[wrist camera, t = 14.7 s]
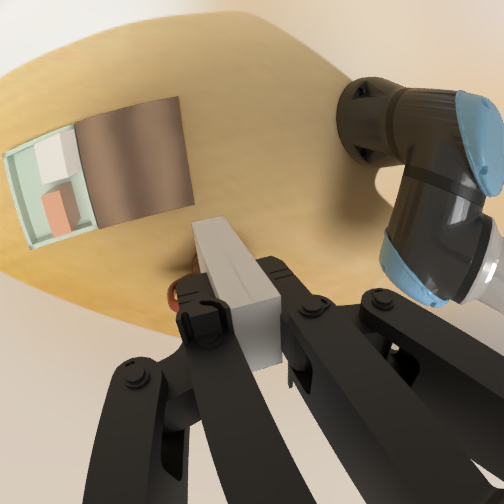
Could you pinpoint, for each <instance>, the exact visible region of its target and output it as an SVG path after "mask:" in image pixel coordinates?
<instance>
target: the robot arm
mask: <svg viewBox="0 0 504 504" xmlns="http://www.w3.org/2000/svg"><path fill="white" fill-rule="evenodd" d="M337 126H338V132H339V136H340V139H341V141H342V143H343V145H344V147H345V149H346V150H347V152H348V153H349V154H350V155H351V156H352V157H353V158H354V159H355V160H356V161H358V162H360V163H362V164H365V165H368V166H372V167H379V168H381V167H389V166H397V165H405V168H404V173H403V176H402V180H401V184H400V188H399V192H398V195H397V199H396V202H395V205H394V209H393V212H392V215H391V218H390V221H389V224H388V227H387V228H386V229H385V232H384V235H385V237H384V240H383V244H382V247H381V251H380V255H379V261H380V265H381V267H382V270H383V271H384V273H385V274H386V276H387V277H388V278H389V280H390V281H391V282H392V283H393V284H394V285H395V286H396V287H398V288H399V289H400V290H401V291H402V292H404V293H405V294H406V295H408V296H409V297H411V298H412V299H414V300H416V301H417V302H420V303H421V304H424V305H426V306H428V305H430V306H431V307H433V308H440V307H442V306H444V305H445V304H447V303H448V301H449V299H451V300H453V301H455V302H457V303H458V304H461V305H462V304H465V303H467V302H469V301H472V300H478V301H480V302H482V303H484V304H486V305H488V306H489V307H491V308H493V309H495V310H497V311H499V312H500V313H502V314H504V237H502V236H501V235H500V233H499V231H498V229H497V226H496V223H495V220H494V219H493V218H491V217H490V216H488V215H485V214H483V213H482V210H483V206H484V203H485V199H486V196H488V197H492V196H493V197H495V196H497V195H499V194H500V192H501V190H502V186H503V184H504V123H503V120H502V117H501V115H500V113H499V111H498V109H497V108H496V106H495V105H494V104H493V103H492V102H491V101H490V100H489V99H487V98H485V97H483V96H479V95H475V94H471V93H466V92H465V91H461V90H459V91H452V90H441V89H425V88H406V87H403V86H401V85H399V84H396V83H394V82H391V81H389V80H386V79H383V78H379V77H366V78H360V79H357V80H355V81H353V82H352V83H351V84H349V85H348V86H347V88H346V89H345V90H344V92H343V94H342V96H341V98H340V101H339V104H338V110H337ZM191 224H192V229H193V235H194V240H195V245H196V251H197V256H198V261H199V266H200V271H201V273H200V274H196V275H192V276H187V277H183V278H180V279H179V281H178V283H177V285H176V293H177V299H178V304H179V311H178V312H177V315H176V323H177V326H178V329H179V332H180V335H181V338H182V341H183V342H182V344H181V346H180V347H179V349H178V350H177V351H176V352H175V353H173V354H172V355H170V356H169V357H167V358H165V359H163V360H161V361H159V362H156V361H154V360H153V359H151V358H146V357H136V358H131V359H129V360H127V361H125V362H123V363H122V364H121V365H120V366H118V367H117V368H116V370H115V372H114V374H113V376H112V379H111V382H110V386H109V388H108V392H107V396H106V399H105V403H104V406H103V409H102V413H101V417H100V421H99V425H98V429H97V432H96V437H95V441H94V445H93V450H92V454H91V459H90V463H89V468H88V474H87V479H86V485H85V491H84V496H83V503H82V504H187V503H188V502H187V501H188V456H189V432H190V426H191V425H193V424H195V423H196V422H198V421H200V420H202V424H203V427H204V431H205V435H206V438H207V442H208V445H209V448H210V452H211V454H212V458H213V461H214V464H215V467H216V470H217V474H218V477H219V479H220V483H221V486H222V488H223V491H224V494H225V497H226V500H227V502H228V504H317V503H316V501H315V499H314V498H313V496H312V494H311V492H310V490H309V488H308V486H307V485H306V483H305V481H304V479H303V477H302V475H301V473H300V471H299V469H298V468H297V466H296V464H295V462H294V460H293V458H292V456H291V454H290V452H289V450H288V448H287V446H286V444H285V442H284V440H283V438H282V436H281V434H280V432H279V430H278V428H277V426H276V423H275V421H274V419H273V417H272V415H271V413H270V411H269V409H268V407H267V404H266V402H265V400H264V398H263V396H262V394H261V391H260V389H259V387H258V385H257V383H256V381H255V378H254V376H253V374H252V372H253V371H257V370H260V369H264V368H267V367H270V366H273V365H276V364H279V363H282V352H283V353H284V355H285V357H286V359H287V360H288V385H289V388H292V386H293V382H294V383H295V385H296V386H297V389H298V390H299V392H300V394H301V396H302V397H303V399H304V401H305V403H306V404H307V406H308V408H309V410H310V411H311V413H312V415H313V416H314V418H315V420H316V422H317V423H318V425H319V427H320V428H321V430H322V432H323V433H324V435H325V437H326V438H327V440H328V442H329V444H330V445H331V447H332V449H333V450H334V452H335V453H336V455H337V457H338V458H339V460H340V462H341V463H342V465H343V467H344V468H345V470H346V472H347V473H348V475H349V476H350V478H351V480H352V481H353V483H354V485H355V486H356V487H357V489H358V491H359V493H360V494H361V496H362V497H363V499H364V500H365V502H366V504H504V489H498V488H496V487H493V486H492V485H491V484H490V483H489V482H488V480H487V479H486V478H485V477H484V475H483V474H482V473H481V472H480V470H479V469H478V468H477V467H476V465H475V464H474V463H473V462H472V461H471V459H472V460H473V461H474V462H476V463H477V464H479V465H480V466H482V467H483V468H484V469H486V470H487V471H489V472H490V473H492V474H493V475H495V476H496V477H498V478H499V479H501V480H502V481H504V356H502V355H501V354H499V353H497V352H496V351H494V350H493V349H491V348H489V347H488V346H486V345H485V344H483V343H481V342H479V341H478V340H476V339H475V338H473V337H472V336H470V335H468V334H467V333H465V332H463V331H462V330H460V329H458V328H457V327H455V326H453V325H451V324H450V323H448V322H446V321H445V320H443V319H441V318H440V317H438V316H436V315H434V314H433V313H431V312H429V311H428V310H426V309H424V308H422V307H420V306H419V305H417V304H415V303H413V302H412V301H410V300H408V299H406V298H405V297H403V296H401V295H399V294H397V293H396V292H394V291H391V290H389V289H383V288H376V289H371V290H368V291H366V292H365V293H364V294H363V295H362V299H361V304H354V305H344V306H336V305H335V304H334V303H333V302H332V301H331V300H329V299H328V298H326V297H323V296H320V295H312V294H311V293H310V291H309V290H308V289H307V288H306V287H305V286H304V285H303V284H302V282H301V281H300V280H299V279H298V278H297V277H296V276H295V275H294V273H293V272H292V271H291V270H290V269H289V268H288V267H287V265H286V264H285V263H284V262H283V261H282V260H280V259H278V258H275V257H273V256H269V257H265V258H260V259H256V260H255V259H254V258H253V256H252V255H251V253H250V252H249V251H248V249H247V248H246V246H245V245H244V244H243V242H242V241H241V240H240V238H239V237H238V235H237V234H236V233H235V231H234V230H233V228H232V227H231V226H230V224H229V223H228V221H227V220H226V219H225V217H224V216H220V217H215V218H210V219H205V220H200V221H196V222H191ZM392 343H394V344H396V345H397V346H398V347H399V350H393V349H391V346H392Z"/></svg>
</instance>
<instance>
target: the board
mask: <svg viewBox="0 0 504 504" xmlns="http://www.w3.org/2000/svg"><path fill="white" fill-rule="evenodd" d="M75 129H76V135H77V140H78V146H79V151H80V156H81V161H82V165H83V170H84V174H85V178H86V182H87V187H88V190H89V194H90V198H91V202H92V205H93V209H94V213H95V216H96V219H97V223H98V226H99V229H102V228H106V227H109V226H113V225H116V224H120V223H124V222H127V221H131V220H135V219H138V218H142V217H146V216H150V215H154V214H158V213H162V212H166V211H170V210H174V209H178V208H182V207H186V206H191V205H195V202H194V197H193V191H192V185H191V179H190V173H189V167H188V161H187V155H186V148H185V142H184V135H183V128H182V121H181V114H180V106H179V99H178V96H177V97H172V98H166V99H161V100H156V101H152V102H147V103H142V104H138V105H134V106H130V107H126V108H122V109H118V110H115V111H111V112H107V113H104V114H101V115H97V116H94V117H91V118H88V119H85V120H82V121H79V122H76V123H75Z"/></svg>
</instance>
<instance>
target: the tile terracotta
mask: <svg viewBox="0 0 504 504" xmlns="http://www.w3.org/2000/svg"><path fill="white" fill-rule="evenodd" d="M41 199H42V203H43V206H44V210H45V213H46V216H47V219H48V222H49V225H50V228H51V231H52V234H53V237H54V238H56V237H59V236H62V235H66V234H69V233H72V232H73V230H74V228H75V227H76V225H77V224H78V222H79V221H80V219H81V216H80V213H79V209H78V206H77V202H76V199H75V195H74V191H73V187H72V183H71V181H69V182H66V183H63V184H60V185H57V186H54V187H53V188H52V189H50V190H49V191H48V192H46V193H45V194H44V195H42V196H41Z"/></svg>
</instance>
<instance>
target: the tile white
mask: <svg viewBox="0 0 504 504" xmlns="http://www.w3.org/2000/svg"><path fill="white" fill-rule="evenodd" d="M34 148H35V153H36V158H37V163H38V168H39V172H40V176H41V180H42V184H43V185H44V184H47V183H50V182H54V181H57V180H60V179H64V178H68V177H70V176H72V175H74V174H76V173H79V172H81V171H82V166H81V162H80V157H79V152H78V147H77V142H76V136H75V130H74V129H72V130H68V131H64V132H61V133H58V134H56V135H53V136H51V137H49V138H47V139H45V140H43V141H41V142H38V143H36V144H34Z"/></svg>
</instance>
